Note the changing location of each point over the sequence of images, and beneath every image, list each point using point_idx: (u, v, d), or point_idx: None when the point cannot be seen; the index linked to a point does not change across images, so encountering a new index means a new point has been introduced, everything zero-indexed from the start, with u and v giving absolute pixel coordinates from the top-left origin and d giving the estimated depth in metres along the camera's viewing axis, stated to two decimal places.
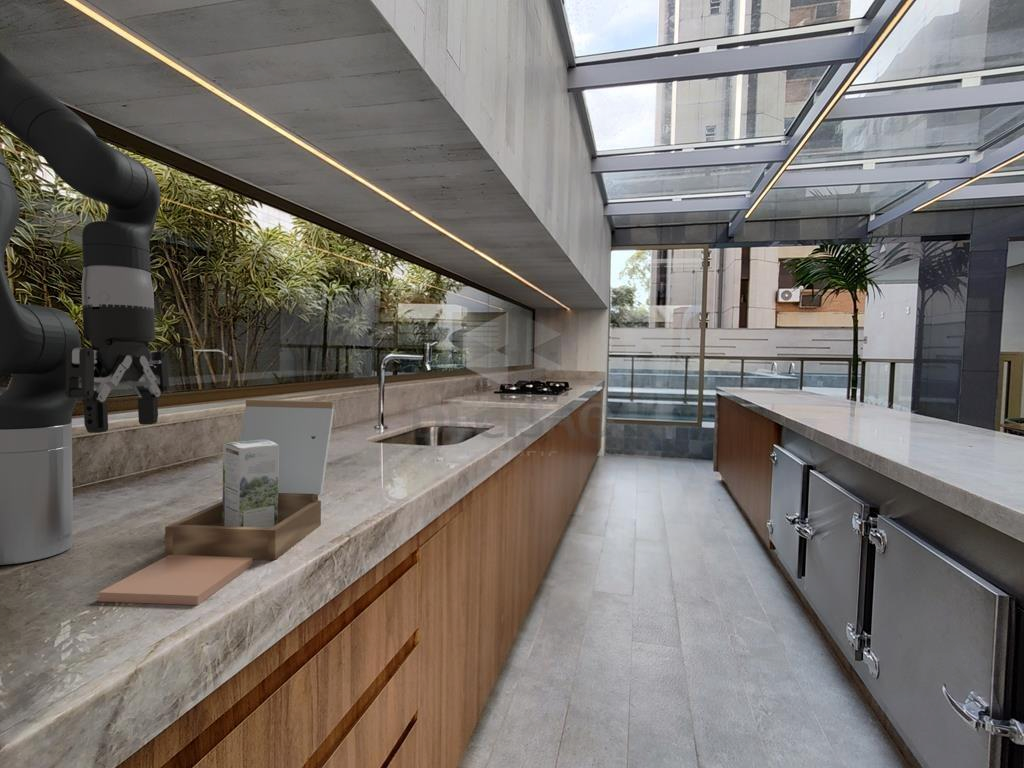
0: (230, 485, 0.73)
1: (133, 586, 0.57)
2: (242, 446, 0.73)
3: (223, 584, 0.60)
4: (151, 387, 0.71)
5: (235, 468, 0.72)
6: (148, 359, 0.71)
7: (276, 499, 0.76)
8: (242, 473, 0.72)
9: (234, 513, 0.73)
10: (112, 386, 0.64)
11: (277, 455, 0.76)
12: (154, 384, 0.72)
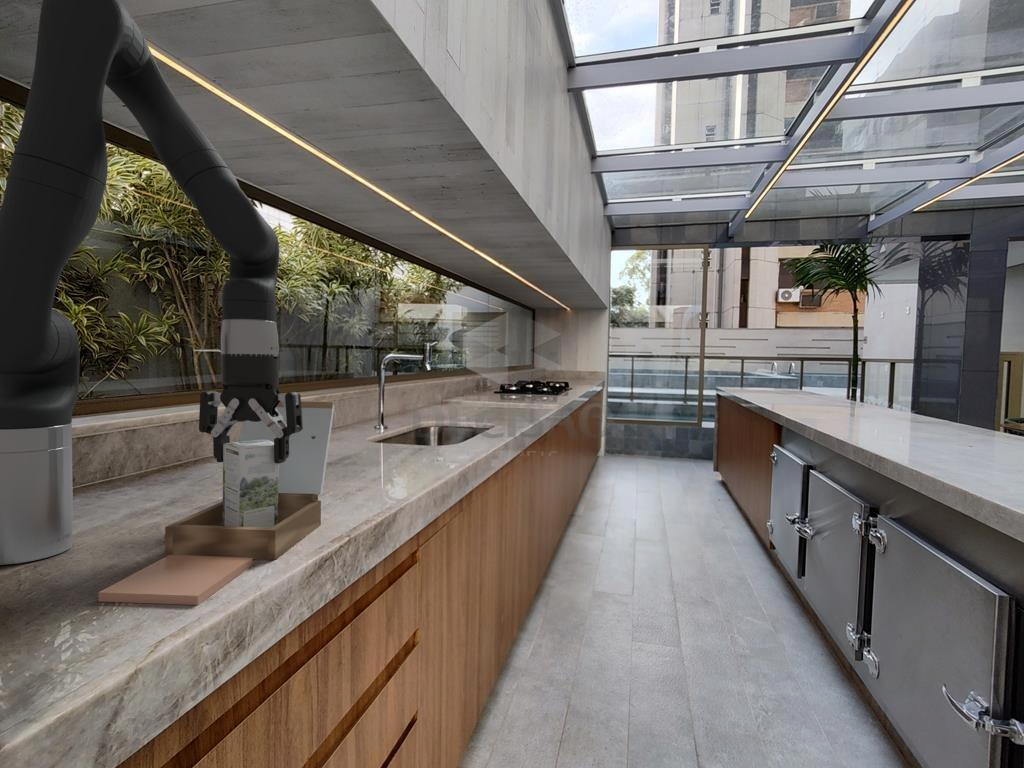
0: (230, 485, 0.73)
1: (133, 586, 0.57)
2: (242, 446, 0.73)
3: (223, 584, 0.60)
4: None
5: (236, 469, 0.72)
6: None
7: (276, 500, 0.76)
8: (242, 473, 0.72)
9: (234, 513, 0.73)
10: None
11: None
12: None
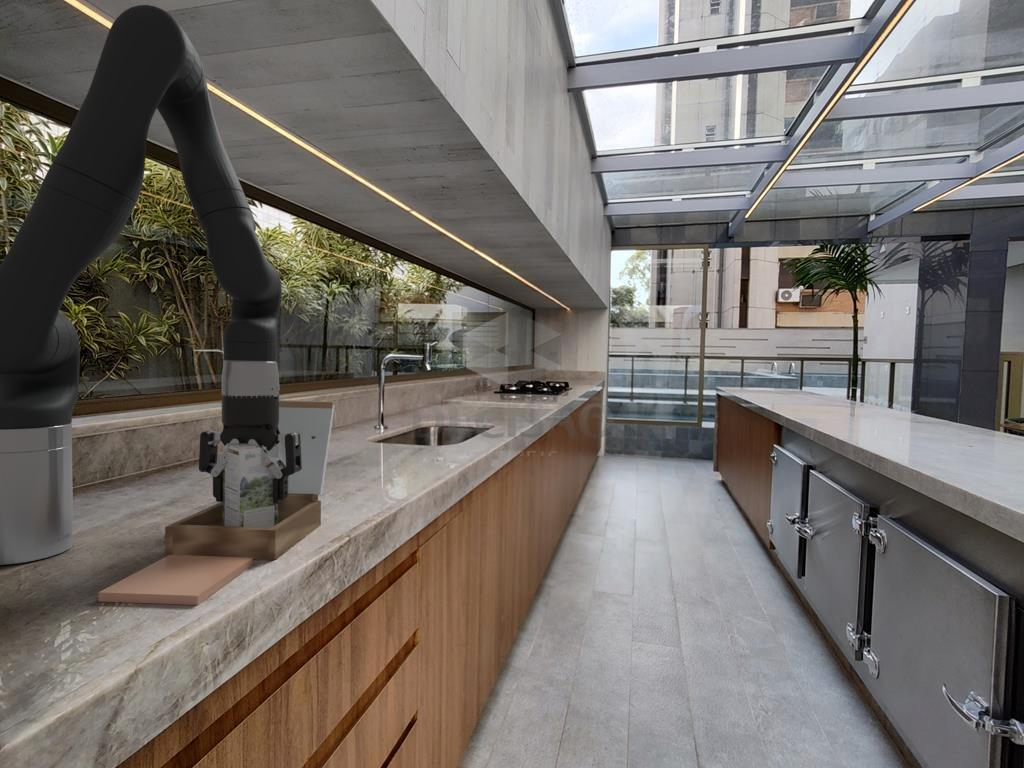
0: (230, 485, 0.73)
1: (133, 586, 0.57)
2: (242, 446, 0.73)
3: (223, 584, 0.60)
4: None
5: (236, 468, 0.72)
6: None
7: None
8: (242, 473, 0.72)
9: (234, 513, 0.73)
10: None
11: (277, 455, 0.76)
12: None
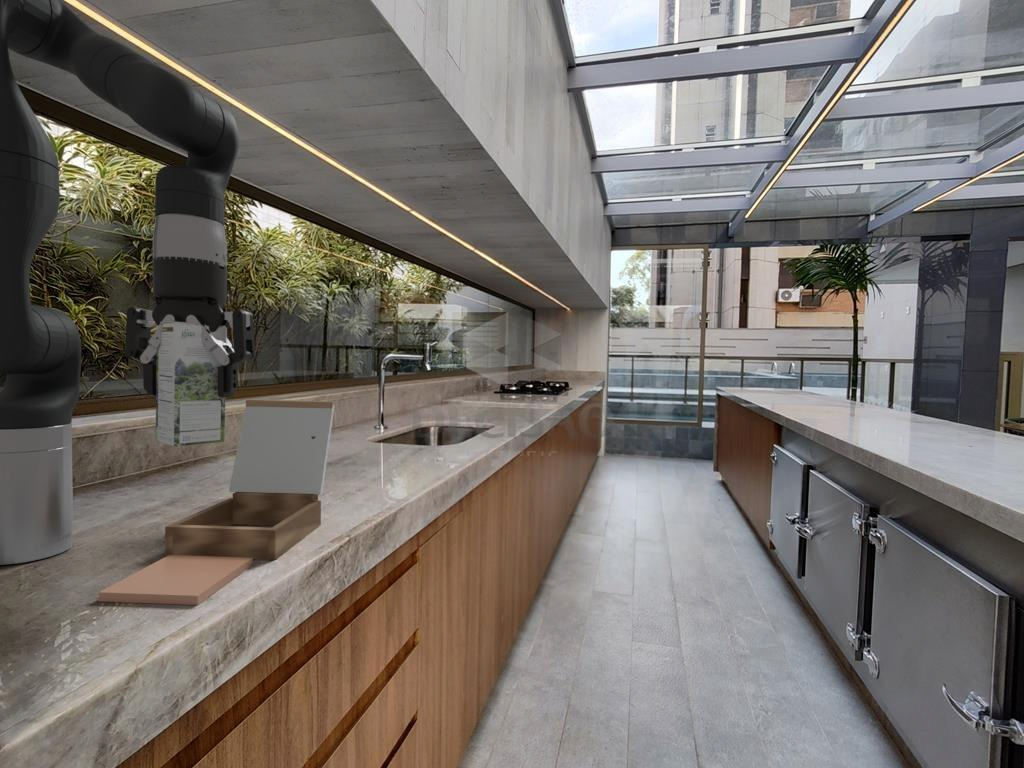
0: (164, 372, 0.59)
1: (133, 586, 0.57)
2: (178, 322, 0.59)
3: (223, 584, 0.60)
4: None
5: (170, 349, 0.58)
6: None
7: None
8: (178, 354, 0.58)
9: (168, 406, 0.59)
10: None
11: (224, 339, 0.62)
12: None
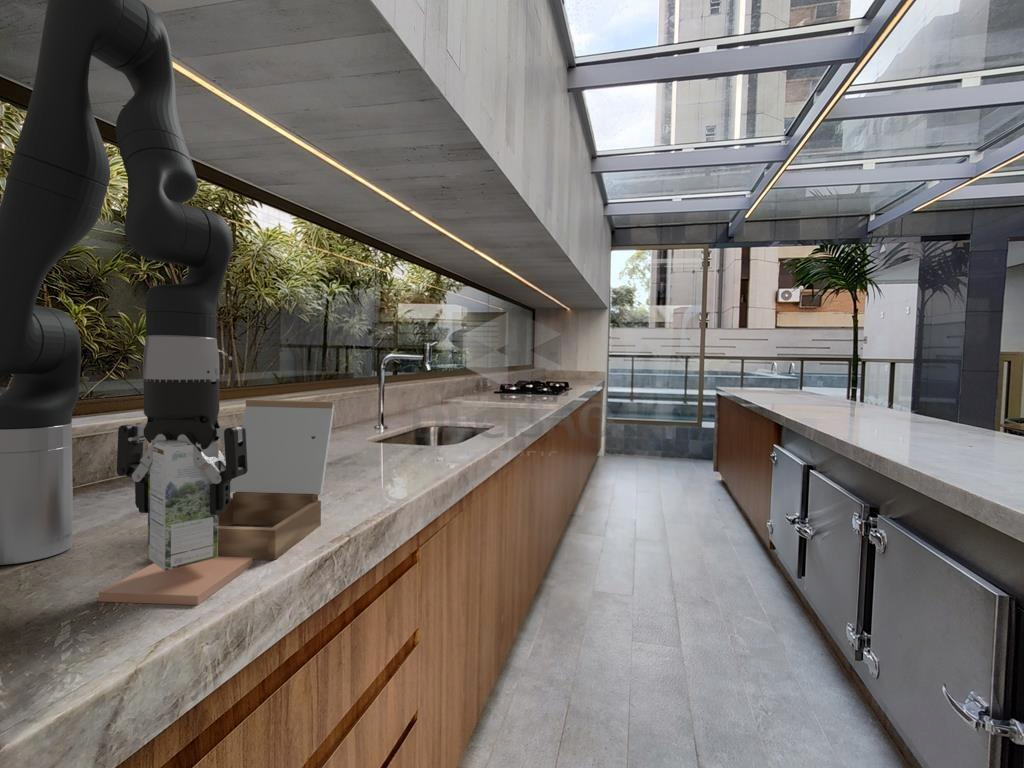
0: (156, 492, 0.58)
1: (133, 586, 0.57)
2: (169, 443, 0.58)
3: (223, 584, 0.60)
4: None
5: (161, 472, 0.57)
6: None
7: None
8: (169, 478, 0.57)
9: (159, 528, 0.58)
10: None
11: (216, 454, 0.61)
12: None
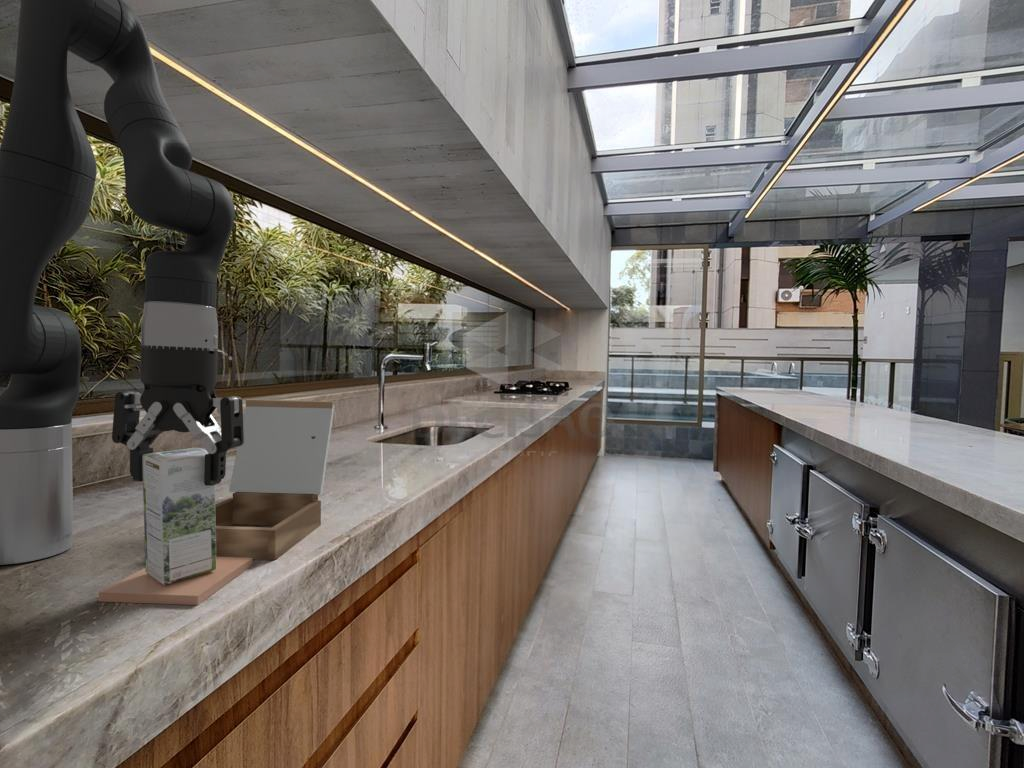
0: (152, 507, 0.58)
1: (133, 586, 0.57)
2: (164, 458, 0.57)
3: (223, 584, 0.60)
4: (156, 435, 0.61)
5: (157, 487, 0.57)
6: None
7: (213, 522, 0.61)
8: (165, 492, 0.57)
9: (157, 543, 0.58)
10: None
11: None
12: None
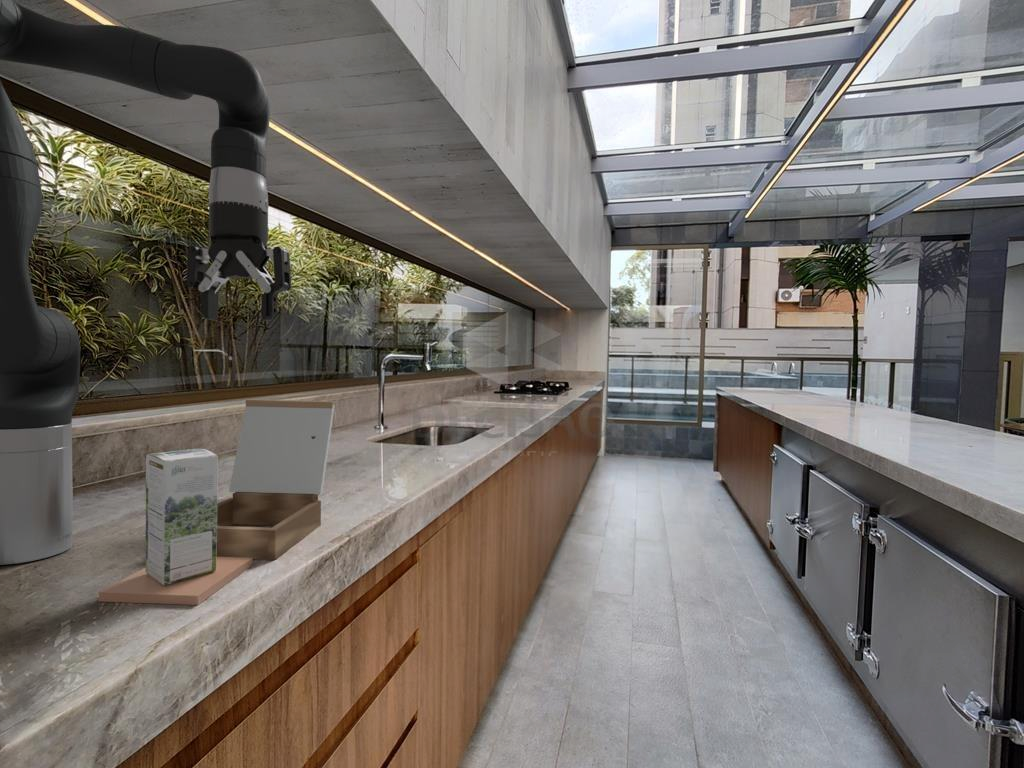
0: (154, 507, 0.58)
1: (133, 586, 0.57)
2: (168, 458, 0.58)
3: (223, 584, 0.60)
4: (220, 284, 0.76)
5: (160, 486, 0.57)
6: None
7: (214, 523, 0.61)
8: (168, 492, 0.57)
9: (158, 543, 0.58)
10: None
11: (215, 468, 0.61)
12: (216, 282, 0.76)
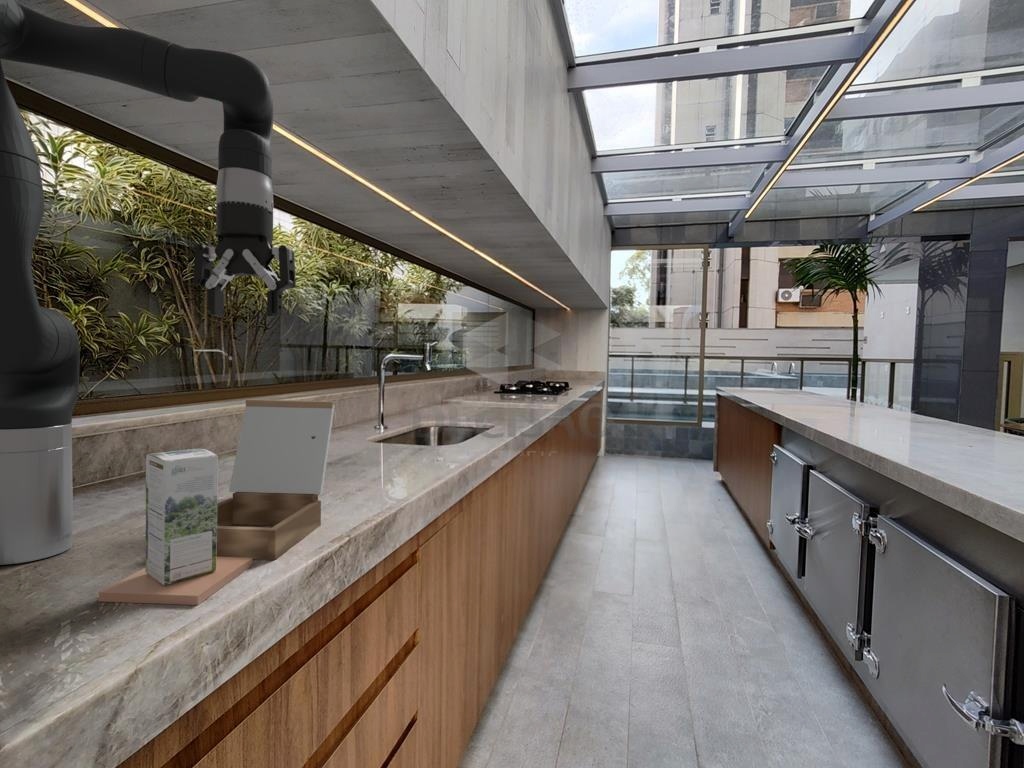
0: (154, 507, 0.58)
1: (133, 586, 0.57)
2: (169, 458, 0.58)
3: (223, 584, 0.60)
4: None
5: (160, 486, 0.57)
6: None
7: (214, 523, 0.61)
8: (168, 492, 0.57)
9: (158, 543, 0.58)
10: None
11: (216, 468, 0.61)
12: None
